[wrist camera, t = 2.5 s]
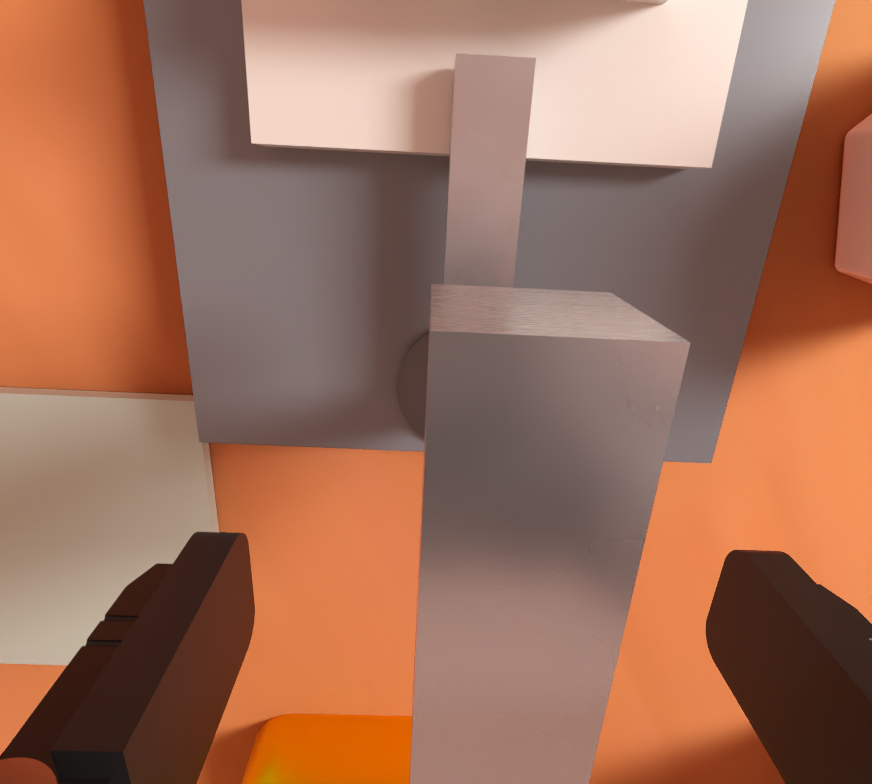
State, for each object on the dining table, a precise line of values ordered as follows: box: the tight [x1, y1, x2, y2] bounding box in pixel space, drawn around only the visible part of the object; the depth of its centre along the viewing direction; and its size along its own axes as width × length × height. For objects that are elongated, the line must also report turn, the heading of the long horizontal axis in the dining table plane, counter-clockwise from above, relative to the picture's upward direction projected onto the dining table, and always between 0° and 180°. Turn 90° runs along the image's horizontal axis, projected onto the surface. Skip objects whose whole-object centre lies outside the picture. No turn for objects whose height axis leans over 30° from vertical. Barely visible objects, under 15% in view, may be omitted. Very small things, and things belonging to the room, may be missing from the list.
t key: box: [409, 53, 690, 784], centre depth 11 cm, size 2×14×11 cm, turn 177°
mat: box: [0, 387, 219, 665], centre depth 23 cm, size 14×14×1 cm
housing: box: [143, 0, 835, 463], centre depth 16 cm, size 18×23×3 cm
